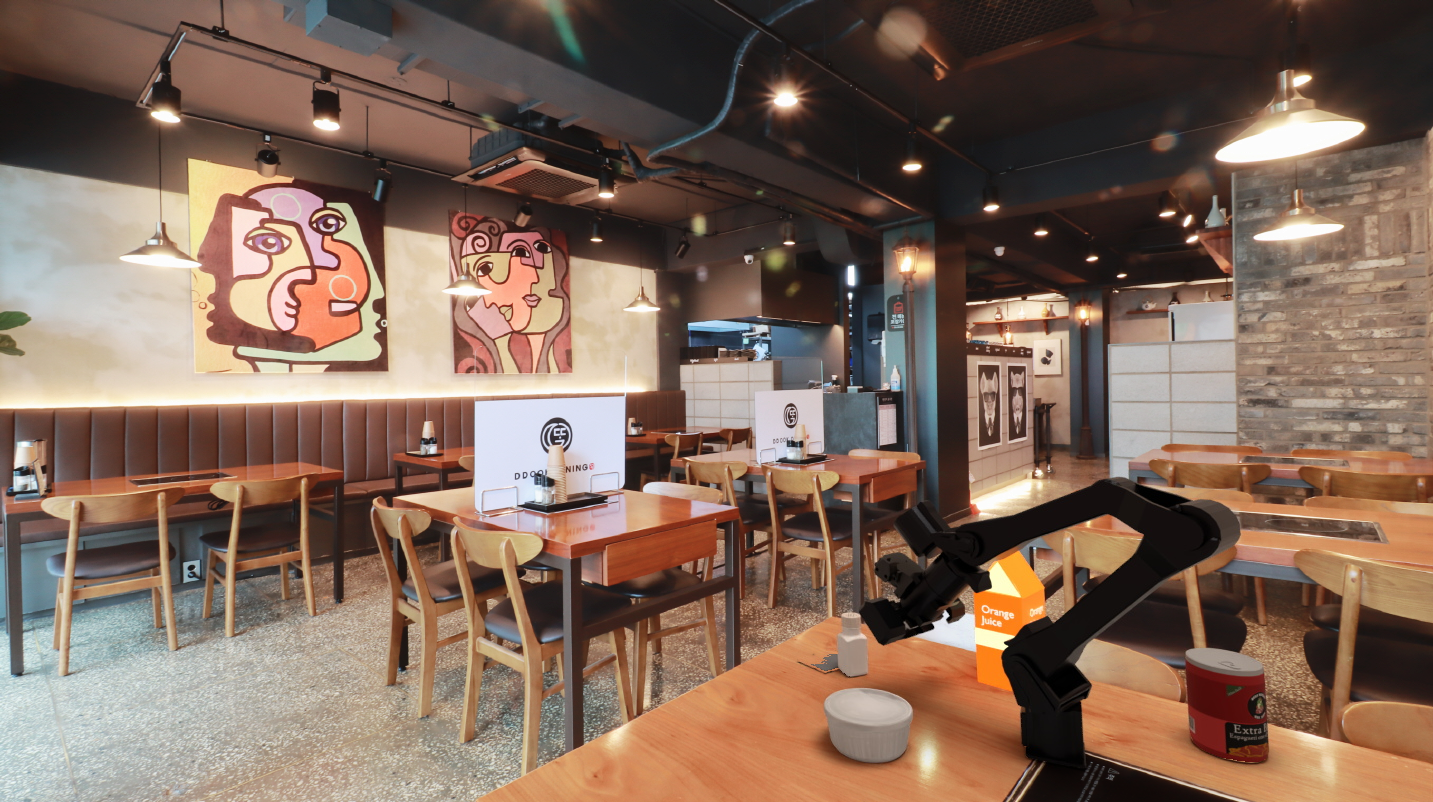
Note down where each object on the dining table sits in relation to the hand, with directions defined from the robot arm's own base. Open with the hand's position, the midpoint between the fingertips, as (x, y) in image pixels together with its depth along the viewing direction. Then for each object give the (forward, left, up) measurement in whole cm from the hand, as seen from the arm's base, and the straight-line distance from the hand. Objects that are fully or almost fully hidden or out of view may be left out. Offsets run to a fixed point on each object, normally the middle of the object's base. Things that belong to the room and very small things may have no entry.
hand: (884, 640), depth 101 cm
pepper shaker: (+6, -3, -7) cm, 10 cm away
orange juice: (-18, -10, -7) cm, 22 cm away
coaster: (+12, -6, -7) cm, 15 cm away
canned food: (-43, +2, -7) cm, 43 cm away
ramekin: (-2, +19, -7) cm, 21 cm away
